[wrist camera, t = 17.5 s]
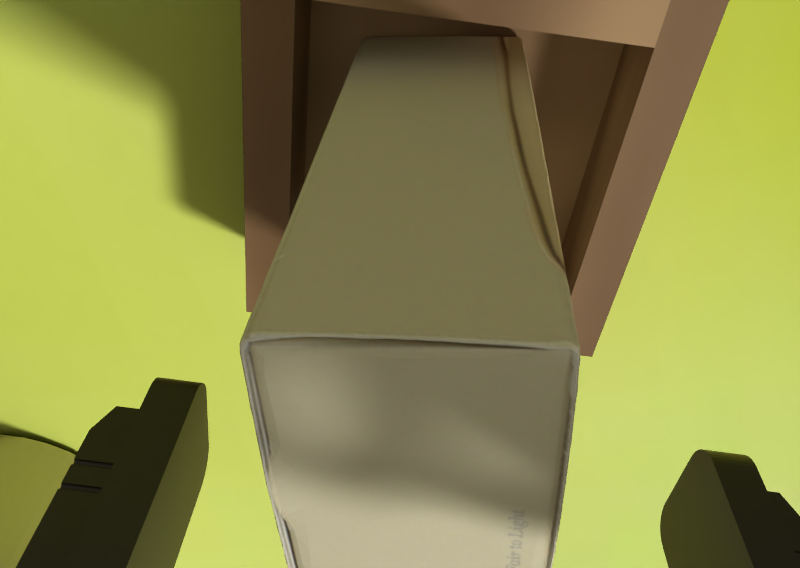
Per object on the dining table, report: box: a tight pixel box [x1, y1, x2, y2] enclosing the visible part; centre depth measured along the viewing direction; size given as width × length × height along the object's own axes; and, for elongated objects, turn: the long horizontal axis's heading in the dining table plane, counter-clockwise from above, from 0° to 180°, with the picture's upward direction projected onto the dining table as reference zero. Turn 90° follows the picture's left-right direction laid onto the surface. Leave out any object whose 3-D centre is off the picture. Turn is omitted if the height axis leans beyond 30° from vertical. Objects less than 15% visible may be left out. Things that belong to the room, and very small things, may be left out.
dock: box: [241, 0, 729, 357], centre depth 18 cm, size 10×13×5 cm
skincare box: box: [240, 36, 580, 568], centre depth 15 cm, size 6×4×12 cm
